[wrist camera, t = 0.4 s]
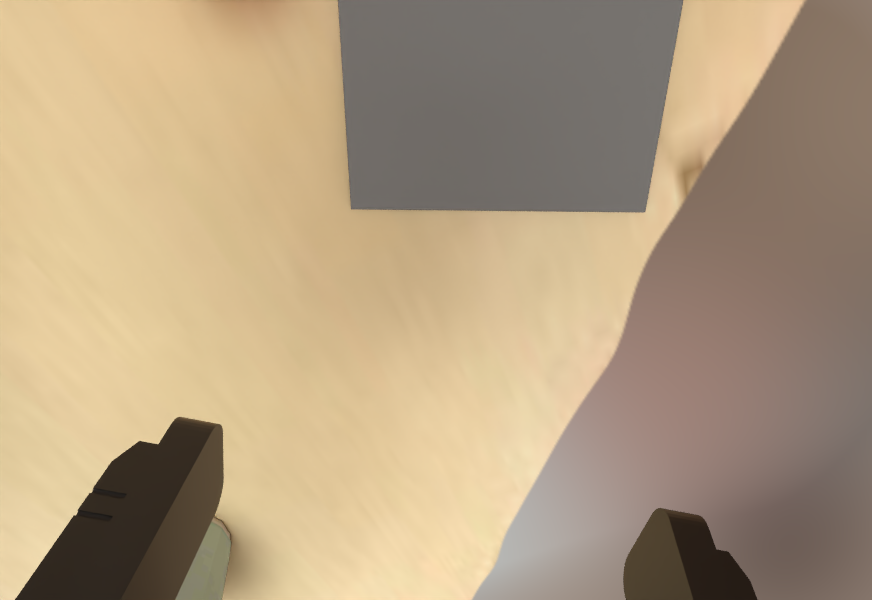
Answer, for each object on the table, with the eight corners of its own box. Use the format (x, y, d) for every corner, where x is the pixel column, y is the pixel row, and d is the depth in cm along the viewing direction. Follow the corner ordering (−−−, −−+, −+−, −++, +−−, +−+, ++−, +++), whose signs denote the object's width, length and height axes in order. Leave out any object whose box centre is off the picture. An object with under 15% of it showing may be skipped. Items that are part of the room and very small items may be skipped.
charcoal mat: (331, -126, 30) (330, -128, 29) (701, -124, 29) (705, -126, 29) (352, 206, 38) (351, 209, 37) (642, 209, 37) (645, 212, 37)
